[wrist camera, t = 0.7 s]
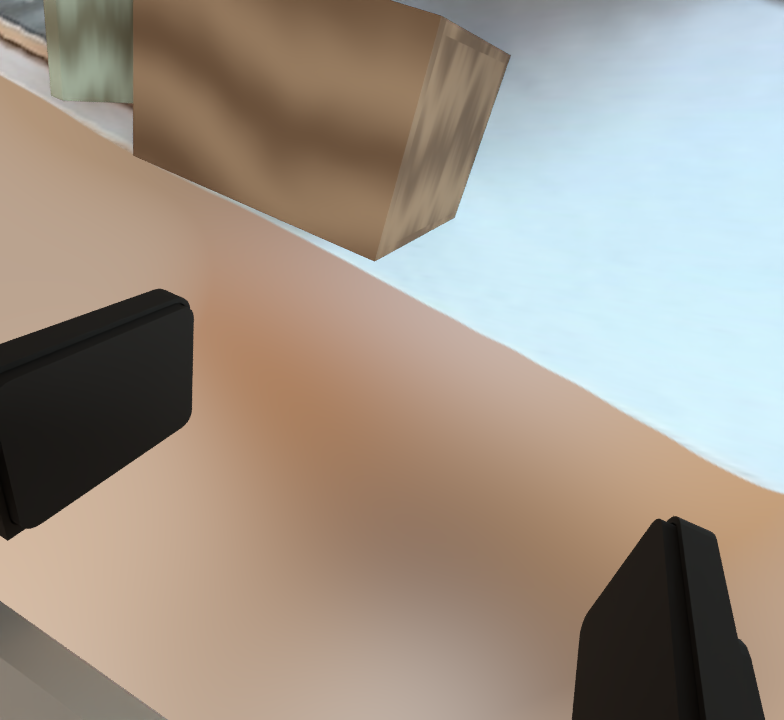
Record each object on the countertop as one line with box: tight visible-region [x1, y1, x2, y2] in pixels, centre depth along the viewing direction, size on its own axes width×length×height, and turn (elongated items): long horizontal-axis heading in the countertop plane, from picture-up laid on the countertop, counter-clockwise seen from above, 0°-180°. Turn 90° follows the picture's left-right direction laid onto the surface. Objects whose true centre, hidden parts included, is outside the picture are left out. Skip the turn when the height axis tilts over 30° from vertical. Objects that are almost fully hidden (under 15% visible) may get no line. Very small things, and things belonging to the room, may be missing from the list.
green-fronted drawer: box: [43, 0, 133, 103], centre depth 38 cm, size 11×20×12 cm, turn 74°
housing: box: [133, 0, 511, 261], centre depth 34 cm, size 12×18×16 cm, turn 74°
